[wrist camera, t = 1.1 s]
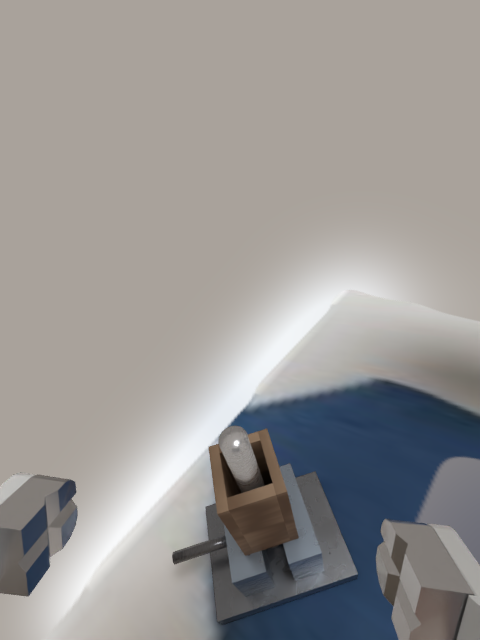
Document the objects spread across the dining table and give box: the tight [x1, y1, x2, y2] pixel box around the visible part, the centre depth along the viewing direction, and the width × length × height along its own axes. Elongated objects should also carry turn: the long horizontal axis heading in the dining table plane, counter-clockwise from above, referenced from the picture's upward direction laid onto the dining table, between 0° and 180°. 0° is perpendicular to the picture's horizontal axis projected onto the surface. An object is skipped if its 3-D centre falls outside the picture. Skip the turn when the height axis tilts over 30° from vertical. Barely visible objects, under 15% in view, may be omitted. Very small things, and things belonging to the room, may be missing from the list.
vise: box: [172, 426, 358, 625], centre depth 26 cm, size 17×10×22 cm, turn 102°
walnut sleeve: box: [209, 429, 299, 556], centre depth 25 cm, size 5×5×10 cm
